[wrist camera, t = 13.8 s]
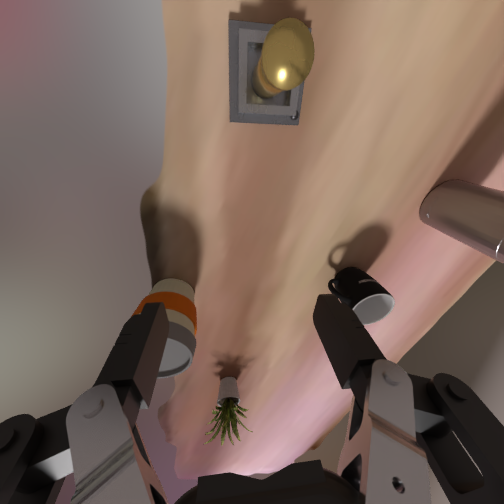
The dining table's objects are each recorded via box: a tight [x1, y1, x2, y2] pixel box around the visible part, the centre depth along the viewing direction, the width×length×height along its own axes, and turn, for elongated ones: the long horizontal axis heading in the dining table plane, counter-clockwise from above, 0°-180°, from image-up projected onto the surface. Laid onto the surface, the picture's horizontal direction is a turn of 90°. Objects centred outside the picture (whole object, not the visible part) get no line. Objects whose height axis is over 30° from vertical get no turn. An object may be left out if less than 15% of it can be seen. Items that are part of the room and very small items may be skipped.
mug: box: [328, 267, 395, 325], centre depth 45 cm, size 12×9×10 cm
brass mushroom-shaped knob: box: [252, 18, 314, 99], centre depth 22 cm, size 5×5×11 cm
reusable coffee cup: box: [131, 278, 197, 379], centre depth 40 cm, size 12×13×15 cm
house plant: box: [204, 377, 252, 445], centre depth 62 cm, size 14×14×16 cm
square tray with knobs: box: [229, 20, 312, 125], centre depth 27 cm, size 10×10×3 cm
